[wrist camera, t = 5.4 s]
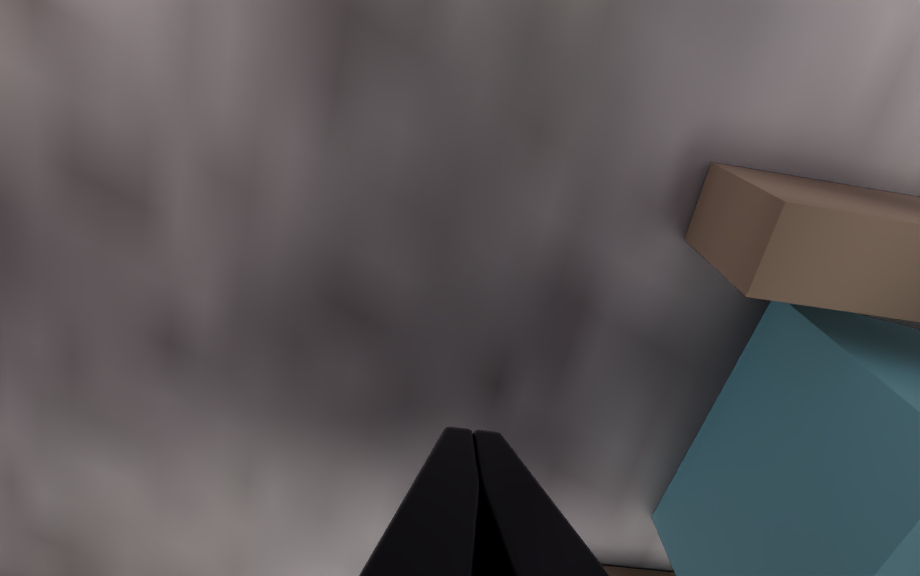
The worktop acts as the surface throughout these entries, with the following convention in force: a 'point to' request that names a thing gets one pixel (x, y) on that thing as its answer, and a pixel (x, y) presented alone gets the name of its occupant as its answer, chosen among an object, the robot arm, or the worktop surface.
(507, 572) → the robot arm
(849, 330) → the block
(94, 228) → the worktop surface
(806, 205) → the guide channel
